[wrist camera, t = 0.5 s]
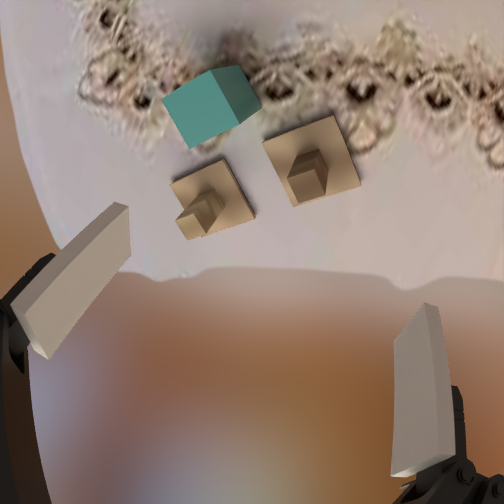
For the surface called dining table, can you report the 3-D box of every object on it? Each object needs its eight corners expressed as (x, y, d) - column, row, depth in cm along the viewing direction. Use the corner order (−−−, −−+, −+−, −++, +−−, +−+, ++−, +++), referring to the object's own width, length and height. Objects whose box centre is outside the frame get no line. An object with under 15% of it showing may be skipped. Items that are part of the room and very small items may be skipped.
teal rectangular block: (197, 87, 30) (161, 99, 24) (239, 64, 28) (209, 69, 22) (220, 127, 33) (189, 148, 27) (262, 107, 30) (239, 124, 24)
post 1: (171, 183, 38) (144, 208, 33) (224, 158, 35) (201, 181, 30) (203, 234, 42) (182, 265, 37) (255, 216, 38) (240, 248, 33)
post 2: (263, 141, 32) (245, 162, 27) (333, 114, 29) (331, 129, 24) (294, 204, 36) (283, 235, 31) (361, 183, 32) (363, 212, 27)
